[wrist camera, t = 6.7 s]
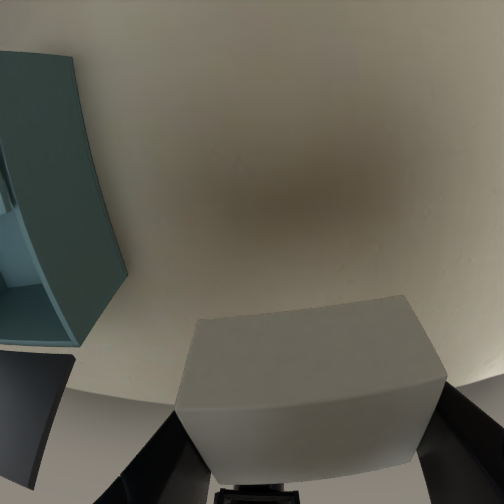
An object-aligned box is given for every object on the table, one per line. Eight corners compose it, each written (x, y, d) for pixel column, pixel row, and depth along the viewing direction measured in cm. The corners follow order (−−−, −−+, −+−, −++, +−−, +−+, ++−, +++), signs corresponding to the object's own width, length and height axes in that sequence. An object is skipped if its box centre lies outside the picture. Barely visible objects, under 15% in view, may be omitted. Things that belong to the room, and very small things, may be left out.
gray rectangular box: (388, 389, 10) (411, 462, 7) (227, 408, 10) (218, 485, 7) (404, 292, 8) (450, 374, 5) (196, 318, 8) (172, 409, 6)
